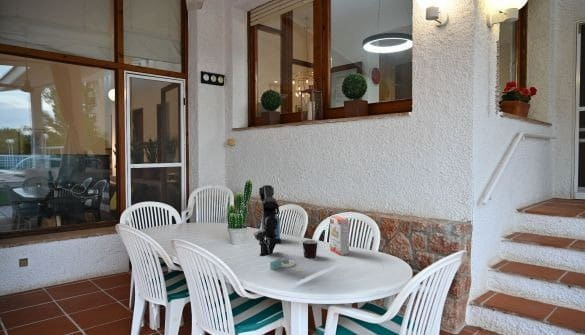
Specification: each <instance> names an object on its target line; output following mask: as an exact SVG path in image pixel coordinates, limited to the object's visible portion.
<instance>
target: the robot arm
mask: <svg viewBox="0 0 585 335" xmlns="http://www.w3.org/2000/svg"><path fill="white" fill-rule="evenodd" d="M274 195H275V191H274V187H272V185H271V184H267V185H262V186H261V187H259V188H258V196H259V197H260V198H259V199H260V200H261V202H262V217H263V228H262V230H261V229H260V230H257V231H255V232H253V235H254V238H255V240H256V241H258V244H259V246H260V253H259V256H262V257H263V256H264V257H265V256H269V255H273V254H274V249H275V247H276V245H281V244H282V240H281V237H280V238H278V237H277V235H276V229H277V227H276V226H277V224H278V221H277V219H276V216H275V215H277V216H278V215H279V213H280V206H279V203H278V202H277V200H276V198H274V197H273V196H274Z"/></svg>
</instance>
